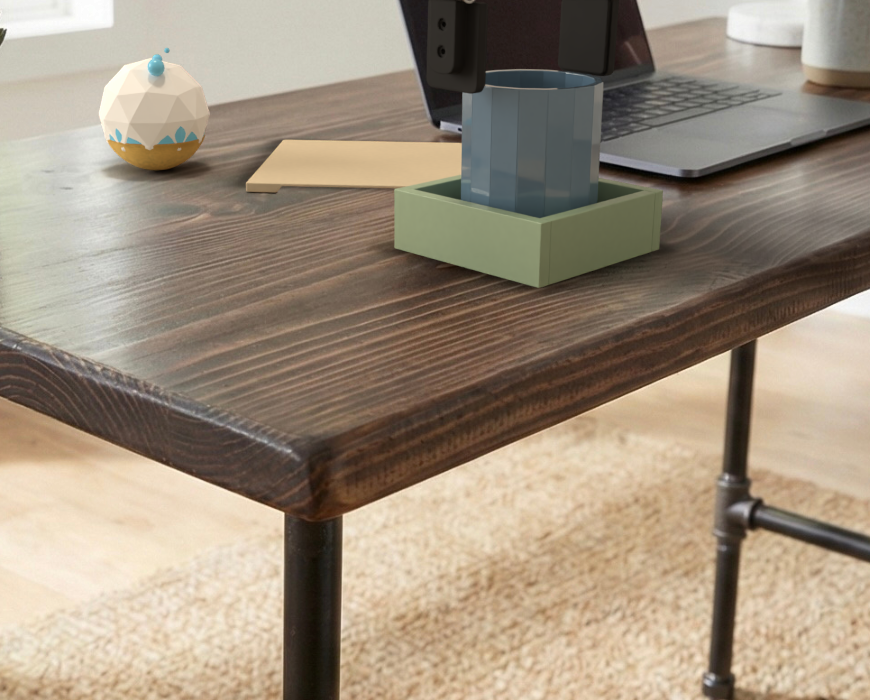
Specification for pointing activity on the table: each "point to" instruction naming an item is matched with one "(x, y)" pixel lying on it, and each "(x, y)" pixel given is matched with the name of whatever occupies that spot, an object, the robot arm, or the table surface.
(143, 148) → the ornament
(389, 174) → the wooden board
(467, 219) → the open square box
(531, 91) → the cup
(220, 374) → the table surface
